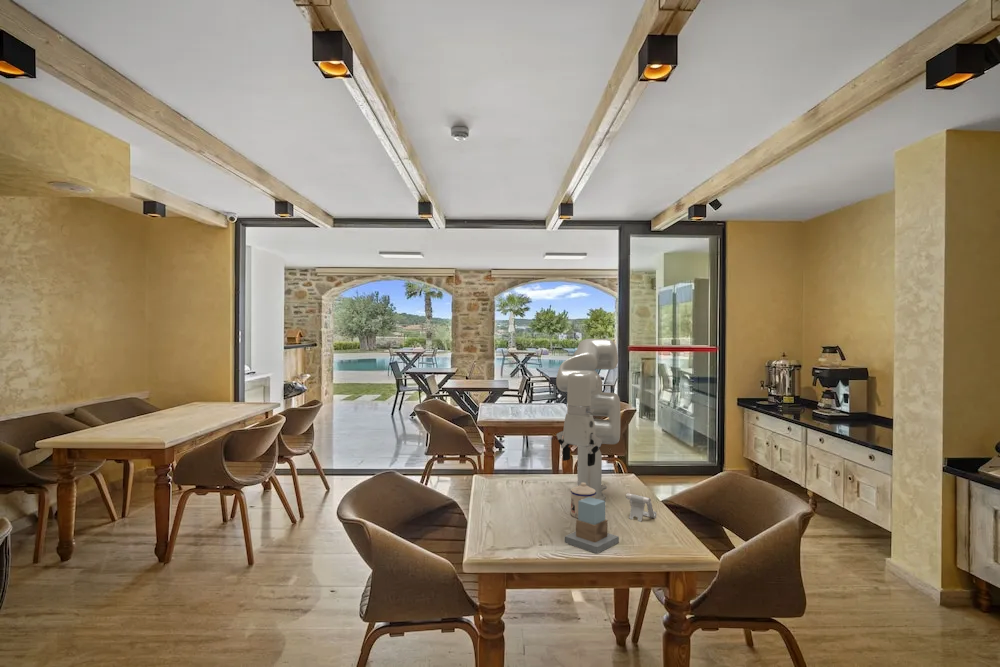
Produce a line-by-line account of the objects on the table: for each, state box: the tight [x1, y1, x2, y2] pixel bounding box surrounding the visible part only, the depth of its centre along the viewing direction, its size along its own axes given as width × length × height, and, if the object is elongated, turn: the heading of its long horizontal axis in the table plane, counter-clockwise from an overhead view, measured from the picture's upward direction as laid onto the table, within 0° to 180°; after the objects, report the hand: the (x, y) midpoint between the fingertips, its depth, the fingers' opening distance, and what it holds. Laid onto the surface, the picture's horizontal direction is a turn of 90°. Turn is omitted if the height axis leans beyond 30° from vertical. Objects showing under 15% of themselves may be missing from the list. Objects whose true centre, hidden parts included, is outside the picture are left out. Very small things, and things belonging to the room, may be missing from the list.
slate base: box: [564, 530, 620, 555], centre depth 164 cm, size 12×12×2 cm
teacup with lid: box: [570, 482, 596, 519], centre depth 188 cm, size 12×9×12 cm
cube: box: [577, 497, 606, 525], centre depth 164 cm, size 6×6×6 cm
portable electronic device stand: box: [625, 492, 658, 523], centre depth 188 cm, size 9×8×8 cm
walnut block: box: [575, 519, 608, 542], centre depth 164 cm, size 7×7×5 cm
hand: (578, 462), depth 172 cm, fingers open, 9 cm apart
